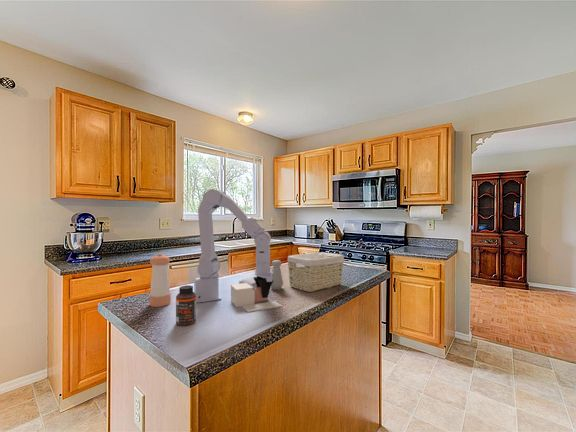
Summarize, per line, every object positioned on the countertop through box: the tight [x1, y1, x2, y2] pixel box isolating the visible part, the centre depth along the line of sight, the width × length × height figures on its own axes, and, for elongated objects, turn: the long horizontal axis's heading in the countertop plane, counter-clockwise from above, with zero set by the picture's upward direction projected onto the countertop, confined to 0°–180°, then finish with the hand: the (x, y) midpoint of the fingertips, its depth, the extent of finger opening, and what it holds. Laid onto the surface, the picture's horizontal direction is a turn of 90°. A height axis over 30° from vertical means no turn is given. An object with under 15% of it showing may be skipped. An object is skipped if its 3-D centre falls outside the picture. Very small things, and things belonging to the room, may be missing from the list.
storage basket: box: [287, 251, 345, 293], centre depth 130 cm, size 24×16×15 cm
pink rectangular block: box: [254, 287, 269, 303], centre depth 108 cm, size 11×2×5 cm, turn 115°
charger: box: [238, 276, 257, 288], centre depth 126 cm, size 5×9×15 cm
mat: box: [241, 300, 282, 313], centre depth 101 cm, size 13×6×1 cm, turn 116°
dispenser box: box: [230, 283, 256, 308], centre depth 106 cm, size 7×8×6 cm
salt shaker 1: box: [149, 253, 172, 308], centre depth 105 cm, size 7×7×19 cm
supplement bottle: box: [175, 284, 197, 327], centre depth 86 cm, size 6×6×11 cm
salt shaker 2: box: [270, 259, 284, 291], centre depth 125 cm, size 6×6×13 cm
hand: (263, 296), depth 109 cm, fingers open, 4 cm apart
